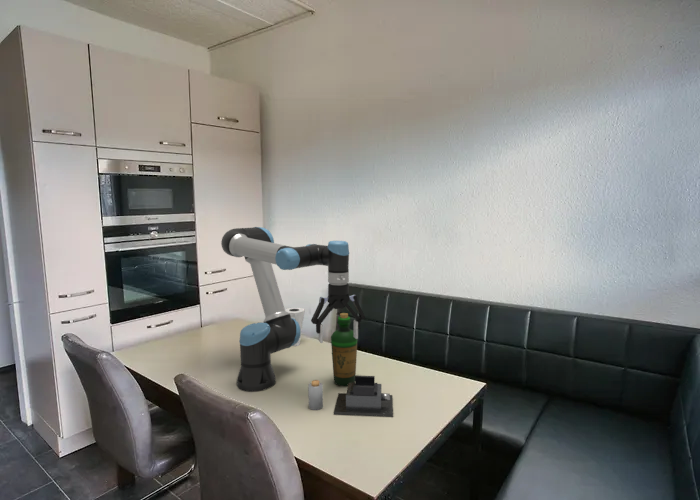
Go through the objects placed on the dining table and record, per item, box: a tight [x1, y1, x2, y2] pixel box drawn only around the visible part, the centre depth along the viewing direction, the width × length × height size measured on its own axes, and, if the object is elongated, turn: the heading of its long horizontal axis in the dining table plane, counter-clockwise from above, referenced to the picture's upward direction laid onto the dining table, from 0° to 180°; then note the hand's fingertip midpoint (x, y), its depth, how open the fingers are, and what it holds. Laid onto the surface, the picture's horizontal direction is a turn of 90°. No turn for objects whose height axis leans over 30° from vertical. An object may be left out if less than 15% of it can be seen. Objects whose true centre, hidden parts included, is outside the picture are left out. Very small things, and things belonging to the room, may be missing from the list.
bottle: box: [330, 312, 358, 387], centre depth 163 cm, size 11×11×28 cm
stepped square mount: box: [333, 374, 394, 418], centre depth 144 cm, size 20×14×9 cm
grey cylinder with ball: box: [307, 379, 324, 411], centre depth 144 cm, size 5×5×9 cm
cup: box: [285, 307, 305, 347], centre depth 209 cm, size 11×11×18 cm
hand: (338, 339), depth 152 cm, fingers open, 13 cm apart
